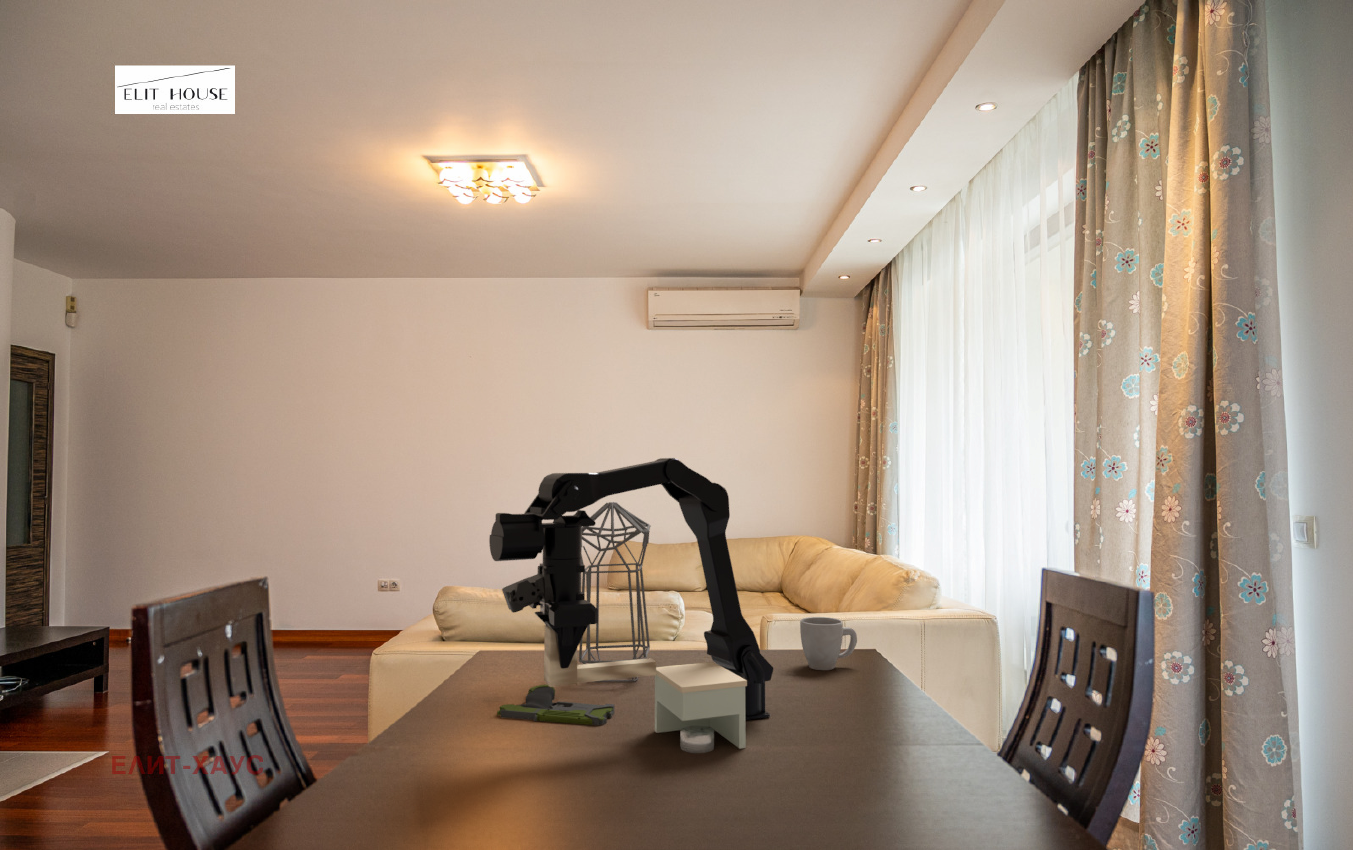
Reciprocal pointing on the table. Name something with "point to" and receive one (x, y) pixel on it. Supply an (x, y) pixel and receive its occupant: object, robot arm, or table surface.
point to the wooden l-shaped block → (588, 667)
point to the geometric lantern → (639, 527)
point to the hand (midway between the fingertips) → (560, 664)
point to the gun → (556, 709)
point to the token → (697, 739)
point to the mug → (824, 641)
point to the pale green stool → (701, 700)
